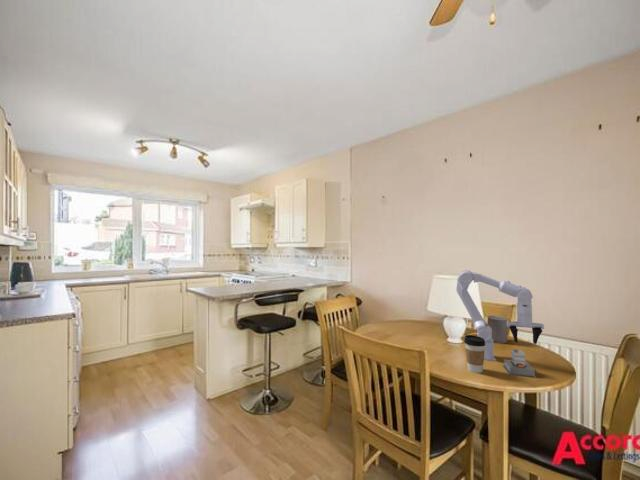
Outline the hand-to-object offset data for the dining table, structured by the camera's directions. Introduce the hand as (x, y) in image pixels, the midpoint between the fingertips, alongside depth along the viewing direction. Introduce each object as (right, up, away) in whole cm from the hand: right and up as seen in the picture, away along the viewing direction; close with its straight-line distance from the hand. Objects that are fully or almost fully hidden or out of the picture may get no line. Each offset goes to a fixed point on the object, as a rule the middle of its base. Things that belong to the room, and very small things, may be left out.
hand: (525, 342), depth 135 cm
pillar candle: (+8, -11, +33) cm, 36 cm away
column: (-9, -8, -8) cm, 14 cm away
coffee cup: (-27, -11, -6) cm, 30 cm away
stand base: (-9, -10, -8) cm, 15 cm away
